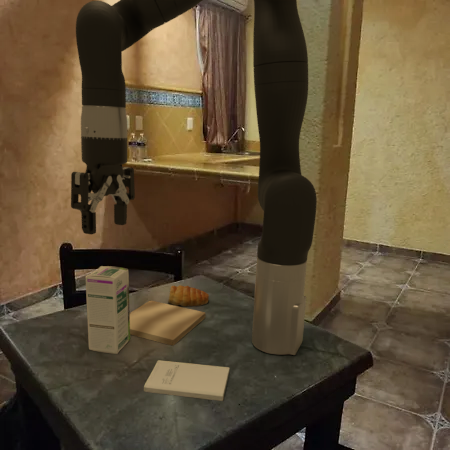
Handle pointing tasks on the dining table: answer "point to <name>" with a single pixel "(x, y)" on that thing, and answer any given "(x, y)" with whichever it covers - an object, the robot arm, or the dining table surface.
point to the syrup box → (108, 309)
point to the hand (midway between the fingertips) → (105, 228)
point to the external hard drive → (188, 380)
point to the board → (163, 322)
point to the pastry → (187, 296)
